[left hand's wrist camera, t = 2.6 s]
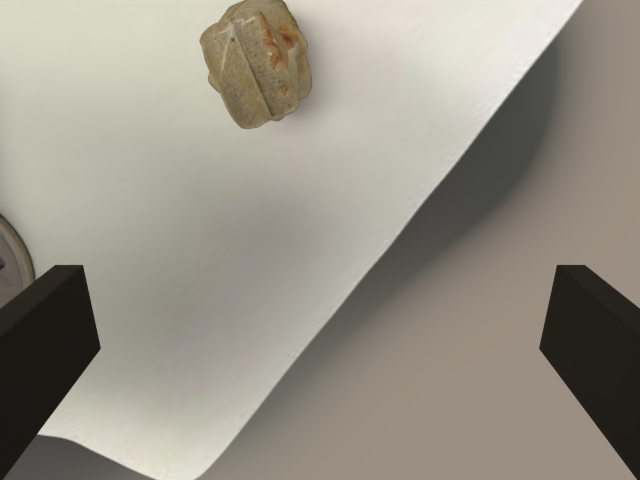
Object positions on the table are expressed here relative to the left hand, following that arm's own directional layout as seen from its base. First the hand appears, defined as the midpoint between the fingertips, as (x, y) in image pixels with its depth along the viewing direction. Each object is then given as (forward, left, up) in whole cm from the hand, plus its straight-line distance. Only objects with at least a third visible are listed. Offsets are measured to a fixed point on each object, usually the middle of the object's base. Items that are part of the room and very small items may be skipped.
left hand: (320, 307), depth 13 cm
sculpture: (+4, +7, -26) cm, 27 cm away
